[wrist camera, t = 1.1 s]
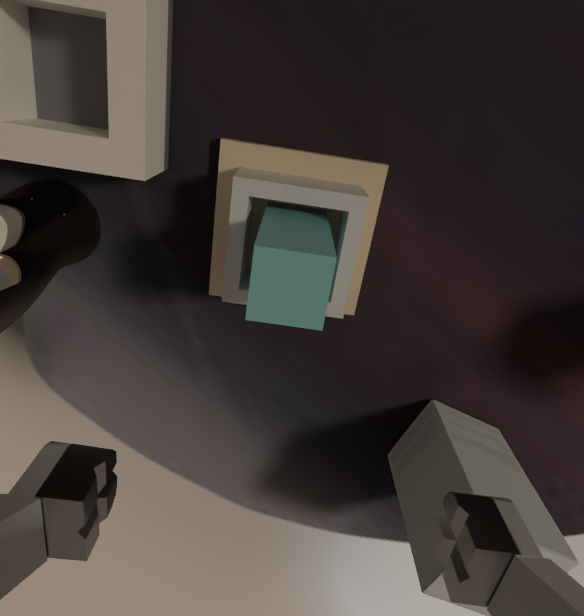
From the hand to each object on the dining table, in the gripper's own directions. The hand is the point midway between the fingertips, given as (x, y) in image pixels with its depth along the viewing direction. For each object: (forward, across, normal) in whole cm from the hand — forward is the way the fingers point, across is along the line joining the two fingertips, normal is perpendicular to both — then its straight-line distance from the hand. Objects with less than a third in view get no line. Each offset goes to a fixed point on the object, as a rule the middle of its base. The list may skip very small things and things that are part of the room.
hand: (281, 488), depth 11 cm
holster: (+23, 0, 0) cm, 23 cm away
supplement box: (+24, -16, +17) cm, 33 cm away
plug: (+22, 0, 0) cm, 22 cm away
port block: (+23, +14, -8) cm, 28 cm away
